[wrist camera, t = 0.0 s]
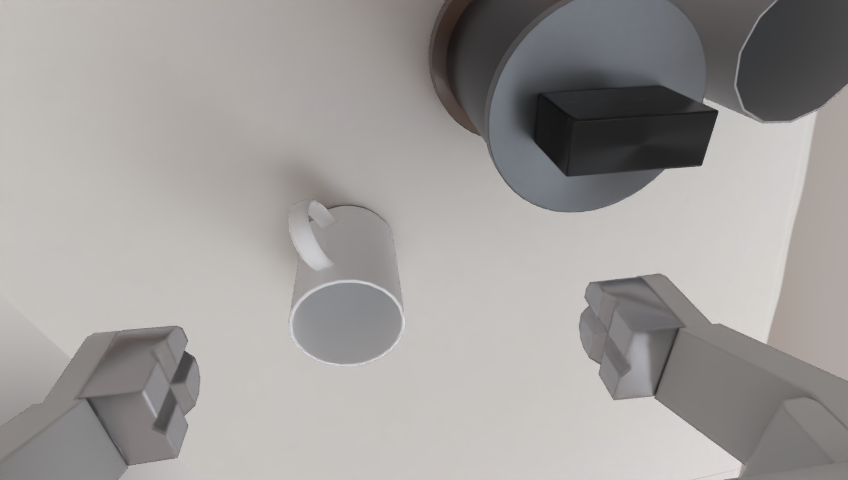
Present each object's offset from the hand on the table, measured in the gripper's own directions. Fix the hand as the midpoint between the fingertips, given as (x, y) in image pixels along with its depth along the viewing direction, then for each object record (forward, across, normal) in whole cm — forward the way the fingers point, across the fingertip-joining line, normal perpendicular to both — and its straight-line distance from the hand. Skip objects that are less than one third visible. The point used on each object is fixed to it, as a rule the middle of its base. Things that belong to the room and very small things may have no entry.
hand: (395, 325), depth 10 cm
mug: (+28, +3, +14) cm, 31 cm away
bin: (+26, -11, 0) cm, 28 cm away
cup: (+28, -25, -1) cm, 38 cm away
